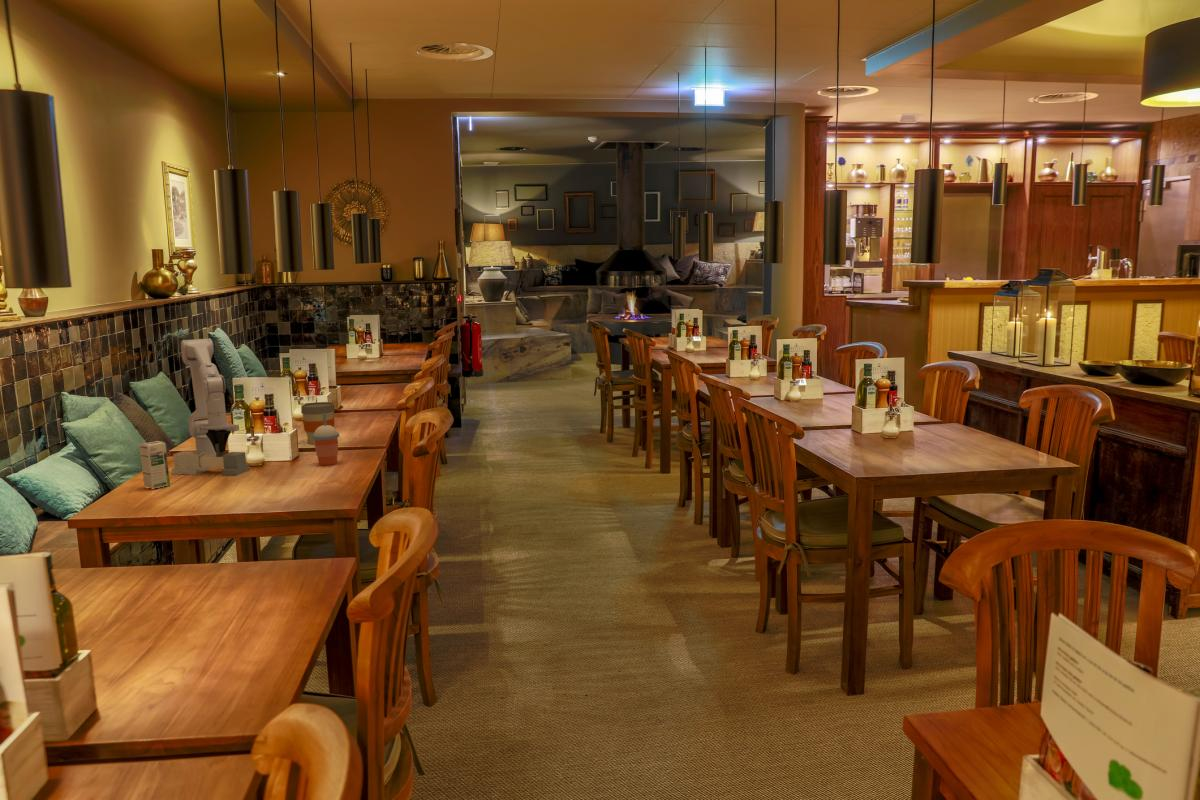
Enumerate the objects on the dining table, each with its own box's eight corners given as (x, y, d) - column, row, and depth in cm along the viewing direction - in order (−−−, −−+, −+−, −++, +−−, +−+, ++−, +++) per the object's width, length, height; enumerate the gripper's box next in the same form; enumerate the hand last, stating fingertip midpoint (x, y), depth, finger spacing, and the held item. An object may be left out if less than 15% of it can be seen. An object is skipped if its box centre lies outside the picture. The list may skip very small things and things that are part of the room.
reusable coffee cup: (304, 440, 350) (301, 403, 347) (336, 437, 353) (334, 401, 351) (303, 446, 338) (300, 408, 336) (337, 443, 342) (334, 405, 339)
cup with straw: (336, 466, 303) (332, 415, 301) (310, 466, 304) (306, 415, 301) (344, 460, 312) (341, 410, 310) (319, 460, 313) (315, 411, 310)
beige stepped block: (172, 474, 298) (170, 455, 297) (187, 468, 306) (185, 450, 304) (196, 474, 296) (194, 455, 295) (210, 469, 304) (209, 450, 303)
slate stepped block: (222, 475, 295) (220, 456, 293) (235, 469, 302) (234, 450, 301) (235, 475, 294) (233, 456, 293) (249, 469, 301) (247, 451, 300)
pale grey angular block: (194, 466, 298) (192, 443, 297) (200, 464, 302) (198, 441, 300) (232, 467, 296) (229, 444, 295) (238, 464, 299) (235, 442, 298)
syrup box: (152, 490, 277) (147, 445, 275) (143, 487, 281) (138, 443, 278) (170, 486, 282) (165, 442, 279) (161, 483, 285) (156, 440, 283)
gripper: (189, 414, 293) (193, 453, 295) (229, 414, 290) (232, 454, 293) (202, 410, 300) (206, 449, 302) (241, 410, 297) (244, 449, 299)
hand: (220, 451), depth 298 cm, fingers closed on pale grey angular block
